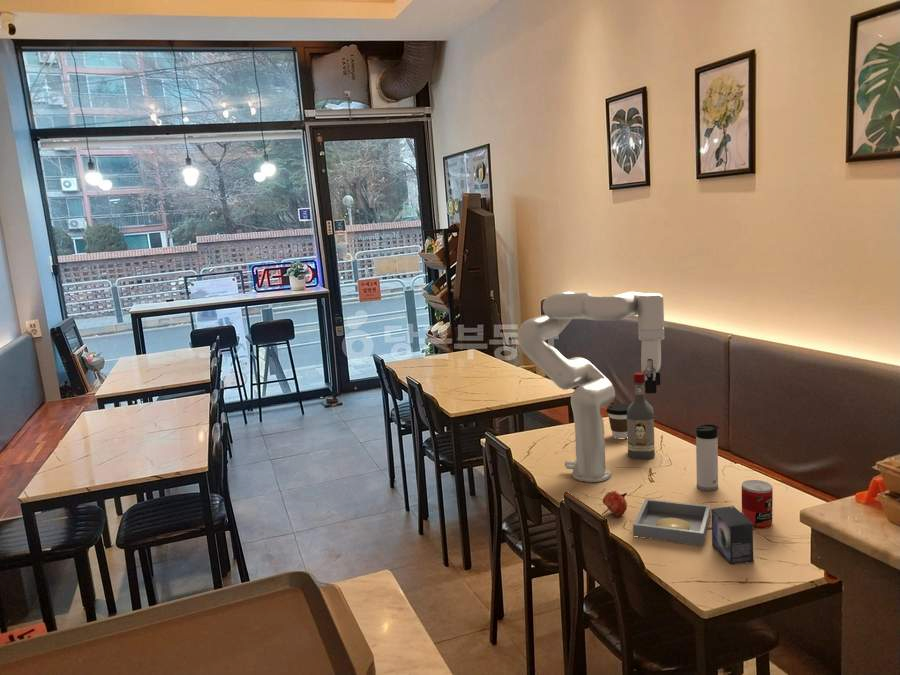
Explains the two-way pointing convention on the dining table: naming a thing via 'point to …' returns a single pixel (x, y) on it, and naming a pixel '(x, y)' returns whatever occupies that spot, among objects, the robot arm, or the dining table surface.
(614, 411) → the coffee cup
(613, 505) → the pomegranate
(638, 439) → the liquor
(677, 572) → the dining table surface
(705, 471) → the travel mug
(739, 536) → the small box
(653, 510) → the walled pen
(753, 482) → the canned food
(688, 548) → the dining table surface
